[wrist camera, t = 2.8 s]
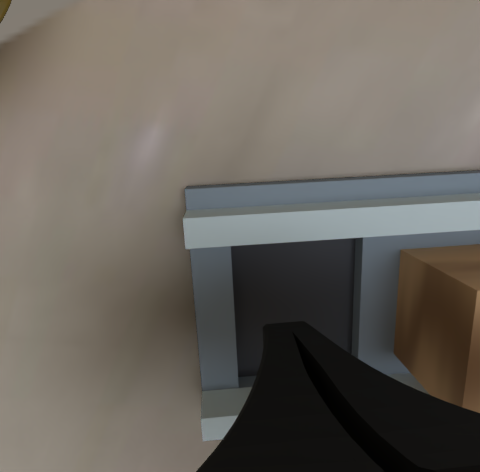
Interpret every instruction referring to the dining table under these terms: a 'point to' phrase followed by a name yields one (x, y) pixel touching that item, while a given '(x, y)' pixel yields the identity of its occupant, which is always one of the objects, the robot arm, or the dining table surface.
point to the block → (441, 321)
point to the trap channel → (310, 267)
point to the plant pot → (4, 8)
